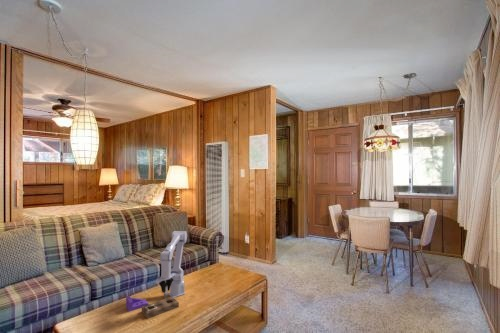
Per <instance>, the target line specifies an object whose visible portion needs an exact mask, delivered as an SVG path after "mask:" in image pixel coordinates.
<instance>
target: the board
mask: <svg viewBox="0 0 500 333" xmlns="http://www.w3.org/2000/svg"><path fill="white" fill-rule="evenodd" d="M179 306H180V304H179V301H178V300H177V299H175V297H174V298H173V297H171V296H170V297H169V296H168V298H164V299H161V300H158V301H155V302H152V303H150V304H149V305H146V306H143V307H142V308H141V313H142V314H143V315H144V316H145V318H147V319H148V320H149V319H150V318H154V317H156V316H159V315H162V314H164V313H166V312H168V311H172V310H175V309H177V308H179Z"/></svg>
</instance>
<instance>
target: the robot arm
mask: <svg viewBox="0 0 500 333" xmlns="http://www.w3.org/2000/svg"><path fill="white" fill-rule="evenodd" d="M187 238H188V232H187V230H185V231H183V230H182V231H181V230H180V231H179V230H174V231H173V232H172V233H171V241H170V243H169V242H168V243H167V245H166V247H165V248H164V250H163V251H162V252H160V254H159V260H160V264H161V273H160V274H161V275H160V277H159V278H158V279H156V280H154V281H155V284H156V285H159V286H160V289H161V293H163V294H164V293H165V287H166V284H168V296H170V297H173V298H174V299H175V298H177V297H180V296H182V295H185V294H186V292H185V290H186V289H185V286H186V285H185V282H184V276H185V275H184V272H185V271H184V270H183V268H181V265H182V257H183V252H184V245H185V244H186V243H187V240H188V239H187ZM174 252H175V254H174ZM173 255H174V259H173ZM172 260H174V261H173V267H172Z"/></svg>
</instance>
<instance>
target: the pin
mask: <svg viewBox="0 0 500 333" xmlns="http://www.w3.org/2000/svg"><path fill="white" fill-rule="evenodd" d="M168 293H169V291H168V284H166V287H165V293H163V298H164V299H166V298H169V294H168Z"/></svg>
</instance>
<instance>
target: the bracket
mask: <svg viewBox="0 0 500 333" xmlns="http://www.w3.org/2000/svg"><path fill="white" fill-rule="evenodd" d="M146 305H149V302H148V301H147V300H146V299H145V298H133V297H131V295H129V296H126V298H125V307H126V309H127V311H128V312H129V313H130V312H133V311H135V310H139V309H142V307H143V306H146Z"/></svg>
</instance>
